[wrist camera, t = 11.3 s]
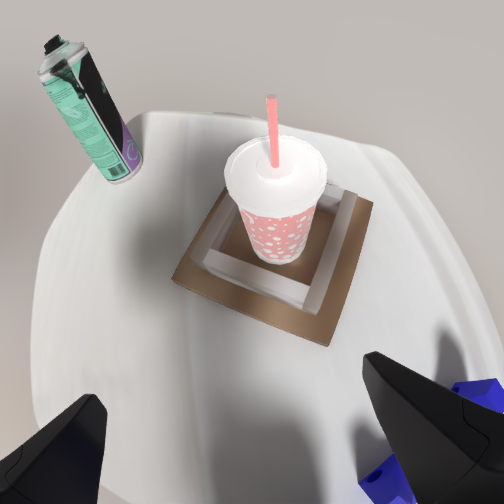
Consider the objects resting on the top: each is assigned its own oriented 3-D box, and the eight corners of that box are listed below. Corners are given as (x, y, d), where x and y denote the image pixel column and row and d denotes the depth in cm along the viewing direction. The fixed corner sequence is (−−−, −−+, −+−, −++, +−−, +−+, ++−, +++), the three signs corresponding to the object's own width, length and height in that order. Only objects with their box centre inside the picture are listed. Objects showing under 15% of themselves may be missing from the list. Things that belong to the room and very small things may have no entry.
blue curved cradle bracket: (384, 507, 13) (410, 534, 8) (357, 483, 15) (379, 510, 10) (476, 410, 16) (516, 410, 10) (455, 382, 17) (496, 378, 12)
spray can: (151, 160, 32) (84, 20, 14) (119, 190, 30) (32, 55, 12) (128, 147, 33) (66, 26, 15) (99, 175, 32) (23, 57, 14)
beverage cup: (243, 211, 25) (212, 74, 13) (310, 208, 25) (324, 68, 12) (242, 274, 23) (195, 145, 10) (317, 271, 22) (352, 137, 10)
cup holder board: (370, 208, 25) (380, 186, 22) (326, 346, 20) (335, 341, 17) (242, 167, 29) (238, 144, 26) (175, 282, 24) (160, 267, 21)
